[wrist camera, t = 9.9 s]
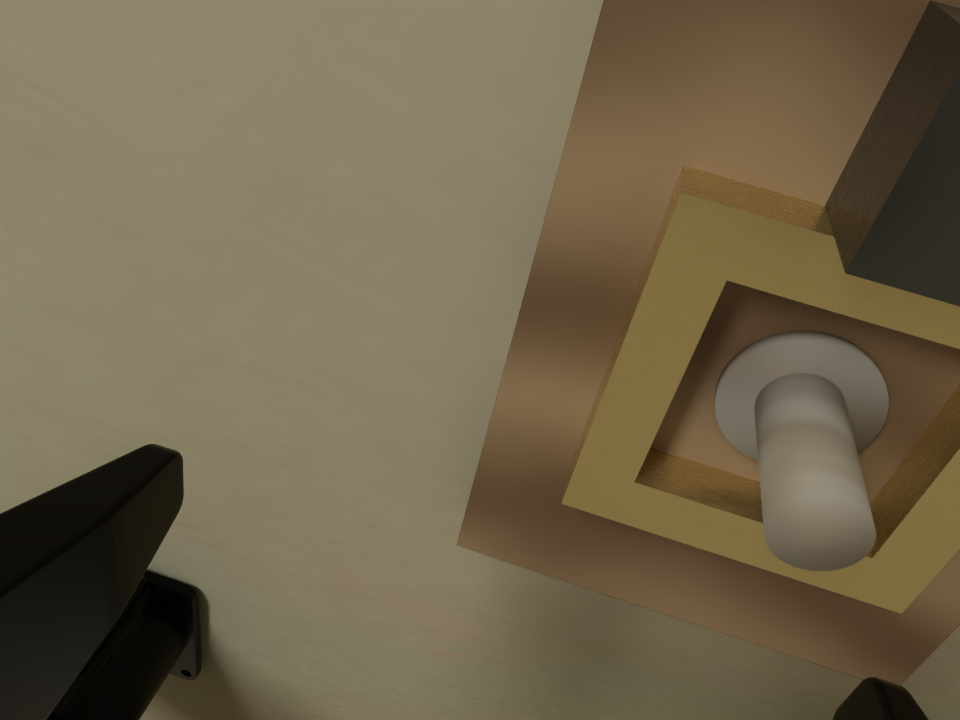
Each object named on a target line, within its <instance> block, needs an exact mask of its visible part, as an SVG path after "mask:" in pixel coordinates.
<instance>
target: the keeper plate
mask: <svg viewBox="0 0 960 720" xmlns="http://www.w3.org/2000/svg"><path fill="white" fill-rule="evenodd" d="M929 1H930V0H604V1H603V5H602V9H601V12H600V16H599V20H598V23H597V27H596V31H595V34H594V38H593V42H592V46H591V49H590V53H589V57H588V60H587V64H586V68H585V72H584V75H583V79H582V83H581V86H580V90H579V94H578V97H577V101H576V105H575V109H574V112H573V116H572V120H571V123H570V127H569V131H568V134H567V138H566V142H565V146H564V149H563V153H562V157H561V160H560V164H559V168H558V171H557V175H556V179H555V183H554V186H553V190H552V194H551V197H550V201H549V205H548V209H547V212H546V216H545V220H544V223H543V227H542V231H541V234H540V238H539V242H538V246H537V249H536V253H535V257H534V260H533V264H532V268H531V271H530V275H529V279H528V283H527V286H526V290H525V294H524V297H523V301H522V305H521V308H520V312H519V316H518V320H517V323H516V327H515V331H514V334H513V338H512V342H511V345H510V349H509V353H508V357H507V360H506V364H505V368H504V371H503V375H502V379H501V383H500V386H499V390H498V394H497V397H496V401H495V405H494V408H493V412H492V416H491V420H490V423H489V427H488V431H487V434H486V438H485V442H484V445H483V449H482V453H481V457H480V460H479V464H478V468H477V471H476V475H475V479H474V482H473V486H472V490H471V494H470V497H469V501H468V505H467V508H466V512H465V516H464V520H463V523H462V527H461V531H460V534H459V538H458V542H457V546H460V547H463V548H466V549H469V550H472V551H475V552H478V553H481V554H484V555H487V556H490V557H493V558H496V559H500V560H503V561H506V562H509V563H512V564H515V565H518V566H521V567H524V568H527V569H530V570H533V571H536V572H539V573H542V574H545V575H548V576H551V577H554V578H557V579H560V580H563V581H566V582H569V583H572V584H575V585H578V586H582V587H585V588H588V589H591V590H594V591H597V592H600V593H603V594H606V595H609V596H612V597H615V598H618V599H621V600H624V601H627V602H630V603H633V604H636V605H639V606H642V607H645V608H648V609H651V610H654V611H657V612H660V613H664V614H667V615H670V616H673V617H676V618H679V619H682V620H685V621H688V622H691V623H694V624H697V625H700V626H703V627H706V628H709V629H712V630H715V631H718V632H721V633H724V634H727V635H730V636H733V637H736V638H739V639H742V640H746V641H749V642H752V643H755V644H758V645H761V646H764V647H767V648H770V649H773V650H776V651H779V652H782V653H785V654H788V655H791V656H794V657H797V658H800V659H803V660H806V661H809V662H812V663H815V664H818V665H821V666H824V667H828V668H831V669H834V670H837V671H840V672H843V673H846V674H849V675H852V676H855V677H858V678H861V679H865V678H868V677H871V676H872V677H877V678H880V679H883V680H886V681H889V682H893V683H896V684H898V685H901V684H902V683H903V682H904V681H905V680H906V679H907V678H908V677H909V676H910V675H911V674H912V673H913V672H914V671H915V670H916V669H917V668H918V667H919V666H920V665H921V664H922V663H923V662H924V661H925V660H926V659H927V658H928V657H929V656H930V655H931V654H932V653H933V652H934V651H935V650H936V648H937V647H938V646H939V645H940V644H941V643H942V642H943V641H944V640H945V639H946V638H947V637H948V636H949V635H950V634H951V633H952V632H953V631H954V630H955V629H956V628H957V627H958V626H959V625H960V549H959V550H958V551H957V553H956V554H955V555H954V556H953V557H952V558H951V559H950V560H949V562H948V563H947V564H946V565H945V566H944V567H943V568H942V569H941V570H940V572H939V573H938V574H937V575H936V576H935V577H934V578H933V579H932V581H931V582H930V583H929V584H928V585H927V586H926V587H925V588H924V590H923V591H922V592H921V593H920V594H919V595H918V596H917V597H916V598H915V600H914V601H913V602H912V603H911V604H910V605H909V606H908V607H907V609H906V610H905V611H904V612H903V613H902V614H900V613H897V612H894V611H891V610H888V609H885V608H882V607H879V606H876V605H872V604H869V603H866V602H863V601H860V600H857V599H854V598H851V597H848V596H845V595H842V594H839V593H835V592H832V591H829V590H826V589H823V588H820V587H817V586H814V585H811V584H808V583H805V582H801V581H798V580H795V579H792V578H789V577H786V576H783V575H780V574H777V573H774V572H771V571H768V570H764V569H761V568H758V567H755V566H752V565H749V564H746V563H743V562H740V561H737V560H734V559H731V558H727V557H724V556H721V555H718V554H715V553H712V552H709V551H706V550H703V549H700V548H697V547H694V546H690V545H687V544H684V543H681V542H678V541H675V540H672V539H669V538H666V537H663V536H660V535H656V534H653V533H650V532H647V531H644V530H641V529H638V528H635V527H632V526H629V525H626V524H623V523H619V522H616V521H613V520H610V519H607V518H604V517H601V516H598V515H595V514H592V513H589V512H586V511H582V510H579V509H576V508H573V507H570V506H567V505H564V504H561V502H562V498H563V493H564V489H565V484H566V480H567V475H568V470H569V466H570V463H571V461H572V458H573V455H574V453H575V450H576V447H577V445H578V442H579V439H580V437H581V434H582V431H583V429H584V426H585V423H586V421H587V418H588V416H589V413H590V410H591V408H592V405H593V402H594V400H595V397H596V394H597V392H598V389H599V386H600V384H601V381H602V378H603V376H604V373H605V370H606V368H607V365H608V363H609V360H610V357H611V355H612V352H613V349H614V347H615V344H616V341H617V339H618V336H619V333H620V331H621V328H622V325H623V323H624V320H625V318H626V315H627V312H628V310H629V307H630V304H631V302H632V299H633V296H634V294H635V291H636V288H637V286H638V283H639V280H640V278H641V275H642V273H643V270H644V267H645V265H646V262H647V259H648V257H649V254H650V251H651V249H652V246H653V243H654V241H655V238H656V235H657V233H658V230H659V227H660V225H661V222H662V220H663V217H664V214H665V212H666V209H667V206H668V204H669V201H670V198H671V196H672V193H673V190H674V188H675V185H676V182H677V180H678V177H679V175H680V172H681V169H682V167H683V166H687V167H690V168H694V169H697V170H701V171H704V172H708V173H711V174H715V175H718V176H722V177H725V178H729V179H732V180H736V181H739V182H743V183H746V184H750V185H753V186H757V187H760V188H764V189H767V190H771V191H774V192H778V193H781V194H785V195H788V196H792V197H795V198H799V199H803V200H806V201H810V202H813V203H817V204H820V205H824V206H825V204H826V202H827V200H828V198H829V196H830V194H831V193H832V191H833V189H834V187H835V185H836V183H837V181H838V179H839V177H840V175H841V173H842V171H843V169H844V167H845V165H846V163H847V161H848V159H849V157H850V156H851V154H852V152H853V150H854V148H855V146H856V144H857V142H858V140H859V138H860V136H861V134H862V132H863V130H864V128H865V126H866V124H867V122H868V120H869V118H870V117H871V115H872V113H873V111H874V109H875V107H876V105H877V103H878V101H879V99H880V97H881V95H882V93H883V91H884V89H885V87H886V85H887V83H888V81H889V79H890V78H891V76H892V74H893V72H894V70H895V68H896V66H897V64H898V62H899V60H900V58H901V56H902V54H903V52H904V50H905V48H906V46H907V44H908V42H909V40H910V39H911V37H912V35H913V33H914V31H915V29H916V27H917V25H918V23H919V21H920V19H921V17H922V15H923V13H924V11H925V9H926V7H927V5H928V3H929ZM931 1H935V2H939V3H942V4H946V5H950V6H954V7H958V8H960V0H931ZM959 384H960V349H958V348H954V347H951V346H947V345H944V344H941V343H937V342H934V341H930V340H927V339H924V338H920V337H917V336H914V335H910V334H907V333H903V332H900V331H897V330H893V329H890V328H886V327H883V326H880V325H876V324H873V323H870V322H866V321H863V320H859V319H856V318H853V317H849V316H846V315H842V314H839V313H836V312H832V311H829V310H826V309H822V308H819V307H815V306H812V305H809V304H805V303H802V302H798V301H795V300H792V299H788V298H785V297H782V296H778V295H775V294H771V293H768V292H765V291H761V290H758V289H754V288H751V287H748V286H744V285H741V284H738V283H734V282H731V281H726V283H725V285H724V287H723V290H722V292H721V294H720V296H719V298H718V301H717V303H716V305H715V307H714V309H713V311H712V314H711V316H710V318H709V320H708V322H707V325H706V327H705V329H704V331H703V333H702V335H701V338H700V340H699V342H698V344H697V346H696V349H695V351H694V353H693V355H692V357H691V359H690V362H689V364H688V366H687V368H686V370H685V373H684V375H683V377H682V379H681V381H680V384H679V386H678V388H677V390H676V392H675V394H674V397H673V399H672V401H671V403H670V405H669V408H668V410H667V412H666V414H665V416H664V418H663V421H662V423H661V425H660V427H659V429H658V432H657V434H656V436H655V438H654V440H653V442H652V445H651V447H650V448H654V449H657V450H660V451H663V452H666V453H669V454H673V455H676V456H679V457H682V458H685V459H688V460H692V461H695V462H698V463H701V464H704V465H707V466H711V467H714V468H717V469H720V470H723V471H727V472H730V473H733V474H736V475H739V476H742V477H746V478H749V479H752V480H755V481H758V482H760V489H761V502H762V515H763V528H764V539H765V542H766V544H767V546H768V548H769V550H770V551H771V552H772V553H773V554H774V555H775V556H776V557H777V558H778V559H780V560H781V561H783V562H785V563H787V564H789V565H791V566H794V567H796V568H800V569H804V570H809V571H833V570H839V569H843V568H846V567H849V566H851V565H853V564H855V563H857V562H859V561H860V560H862V559H863V558H864V557H866V556H867V555H868V554H869V552H870V551H871V550H872V548H873V546H874V544H875V541H876V530H875V525H874V521H873V517H872V512H871V508H870V504H871V503H872V501H873V500H874V499H875V497H876V496H877V494H878V493H879V492H880V490H881V489H882V488H883V486H884V485H885V484H886V482H887V481H888V480H889V478H890V477H891V476H892V474H893V473H894V472H895V470H896V469H897V468H898V466H899V465H900V464H901V462H902V461H903V460H904V458H905V457H906V455H907V454H908V453H909V451H910V450H911V449H912V447H913V446H914V445H915V443H916V442H917V441H918V439H919V438H920V437H921V435H922V434H923V433H924V431H925V430H926V429H927V427H928V426H929V425H930V423H931V422H932V420H933V419H934V418H935V416H936V415H937V414H938V412H939V411H940V410H941V408H942V407H943V406H944V404H945V403H946V402H947V400H948V399H949V398H950V396H951V395H952V394H953V392H954V391H955V390H956V388H957V387H958V386H959Z"/></svg>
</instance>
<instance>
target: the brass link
mask: <svg viewBox="0 0 960 720" xmlns="http://www.w3.org/2000/svg"><path fill="white" fill-rule="evenodd" d="M726 281H731V282H734V283H738V284H741V285H744V286H748V287H751V288H754V289H758V290H761V291H765V292H768V293H771V294H775V295H778V296H782V297H785V298H788V299H792V300H795V301H798V302H802V303H805V304H809V305H812V306H815V307H819V308H822V309H826V310H829V311H832V312H836V313H839V314H842V315H846V316H849V317H853V318H856V319H859V320H863V321H866V322H870V323H873V324H876V325H880V326H883V327H886V328H890V329H893V330H897V331H900V332H903V333H907V334H910V335H914V336H917V337H920V338H924V339H927V340H930V341H934V342H937V343H941V344H944V345H947V346H951V347H954V348H958V349H960V8H958V7H954V6H950V5H946V4H942V3H939V2H935V1H931V0H930V1H929V3H928V5H927V7H926V9H925V11H924V13H923V15H922V17H921V19H920V21H919V23H918V25H917V27H916V29H915V31H914V33H913V35H912V37H911V39H910V40H909V42H908V44H907V46H906V48H905V50H904V52H903V54H902V56H901V58H900V60H899V62H898V64H897V66H896V68H895V70H894V72H893V74H892V76H891V78H890V79H889V81H888V83H887V85H886V87H885V89H884V91H883V93H882V95H881V97H880V99H879V101H878V103H877V105H876V107H875V109H874V111H873V113H872V115H871V117H870V118H869V120H868V122H867V124H866V126H865V128H864V130H863V132H862V134H861V136H860V138H859V140H858V142H857V144H856V146H855V148H854V150H853V152H852V154H851V156H850V157H849V159H848V161H847V163H846V165H845V167H844V169H843V171H842V173H841V175H840V177H839V179H838V181H837V183H836V185H835V187H834V189H833V191H832V193H831V194H830V196H829V198H828V200H827V202H826V204H825V206H824V205H820V204H817V203H813V202H810V201H806V200H803V199H799V198H795V197H792V196H788V195H785V194H781V193H778V192H774V191H771V190H767V189H764V188H760V187H757V186H753V185H750V184H746V183H743V182H739V181H736V180H732V179H729V178H725V177H722V176H718V175H715V174H711V173H708V172H704V171H701V170H697V169H694V168H690V167H687V166H683V167H682V169H681V172H680V175H679V177H678V180H677V182H676V185H675V188H674V190H673V193H672V196H671V198H670V201H669V204H668V206H667V209H666V212H665V214H664V217H663V220H662V222H661V225H660V227H659V230H658V233H657V235H656V238H655V241H654V243H653V246H652V249H651V251H650V254H649V257H648V259H647V262H646V265H645V267H644V270H643V273H642V275H641V278H640V280H639V283H638V286H637V288H636V291H635V294H634V296H633V299H632V302H631V304H630V307H629V310H628V312H627V315H626V318H625V320H624V323H623V325H622V328H621V331H620V333H619V336H618V339H617V341H616V344H615V347H614V349H613V352H612V355H611V357H610V360H609V363H608V365H607V368H606V370H605V373H604V376H603V378H602V381H601V384H600V386H599V389H598V392H597V394H596V397H595V400H594V402H593V405H592V408H591V410H590V413H589V416H588V418H587V421H586V423H585V426H584V429H583V431H582V434H581V437H580V439H579V442H578V445H577V447H576V450H575V453H574V455H573V458H572V461H571V463H570V466H569V470H568V475H567V480H566V484H565V489H564V493H563V498H562V502H561V504H564V505H567V506H570V507H573V508H576V509H579V510H582V511H586V512H589V513H592V514H595V515H598V516H601V517H604V518H607V519H610V520H613V521H616V522H619V523H623V524H626V525H629V526H632V527H635V528H638V529H641V530H644V531H647V532H650V533H653V534H656V535H660V536H663V537H666V538H669V539H672V540H675V541H678V542H681V543H684V544H687V545H690V546H694V547H697V548H700V549H703V550H706V551H709V552H712V553H715V554H718V555H721V556H724V557H727V558H731V559H734V560H737V561H740V562H743V563H746V564H749V565H752V566H755V567H758V568H761V569H764V570H768V571H771V572H774V573H777V574H780V575H783V576H786V577H789V578H792V579H795V580H798V581H801V582H805V583H808V584H811V585H814V586H817V587H820V588H823V589H826V590H829V591H832V592H835V593H839V594H842V595H845V596H848V597H851V598H854V599H857V600H860V601H863V602H866V603H869V604H872V605H876V606H879V607H882V608H885V609H888V610H891V611H894V612H897V613H900V614H902V613H903V612H904V611H905V610H906V609H907V607H908V606H909V605H910V604H911V603H912V602H913V601H914V600H915V598H916V597H917V596H918V595H919V594H920V593H921V592H922V591H923V590H924V588H925V587H926V586H927V585H928V584H929V583H930V582H931V581H932V579H933V578H934V577H935V576H936V575H937V574H938V573H939V572H940V570H941V569H942V568H943V567H944V566H945V565H946V564H947V563H948V562H949V560H950V559H951V558H952V557H953V556H954V555H955V554H956V553H957V551H958V550H959V549H960V384H959V386H958V387H957V388H956V390H955V391H954V392H953V394H952V395H951V396H950V398H949V399H948V400H947V402H946V403H945V404H944V406H943V407H942V408H941V410H940V411H939V412H938V414H937V415H936V416H935V418H934V419H933V420H932V422H931V423H930V425H929V426H928V427H927V429H926V430H925V431H924V433H923V434H922V435H921V437H920V438H919V439H918V441H917V442H916V443H915V445H914V446H913V447H912V449H911V450H910V451H909V453H908V454H907V455H906V457H905V458H904V460H903V461H902V462H901V464H900V465H899V466H898V468H897V469H896V470H895V472H894V473H893V474H892V476H891V477H890V478H889V480H888V481H887V482H886V484H885V485H884V486H883V488H882V489H881V490H880V492H879V493H878V494H877V496H876V497H875V499H874V500H873V501H872V503H871V504H870V508H871V512H872V517H873V521H874V525H875V530H876V541H875V544H874V546H873V548H872V550H871V551H870V552H869V554H868V555H867V556H866V557H864V558H863V559H862V560H860V561H859V562H857V563H855V564H853V565H851V566H849V567H846V568H843V569H839V570H833V571H809V570H804V569H800V568H796V567H794V566H791V565H789V564H787V563H785V562H783V561H781V560H780V559H778V558H777V557H776V556H775V555H774V554H773V553H772V552H771V551H770V550H769V548H768V546H767V544H766V542H765V539H764V528H763V515H762V502H761V489H760V482H758V481H755V480H752V479H749V478H746V477H742V476H739V475H736V474H733V473H730V472H727V471H723V470H720V469H717V468H714V467H711V466H707V465H704V464H701V463H698V462H695V461H692V460H688V459H685V458H682V457H679V456H676V455H673V454H669V453H666V452H663V451H660V450H657V449H654V448H650V447H651V445H652V442H653V440H654V438H655V436H656V434H657V432H658V429H659V427H660V425H661V423H662V421H663V418H664V416H665V414H666V412H667V410H668V408H669V405H670V403H671V401H672V399H673V397H674V394H675V392H676V390H677V388H678V386H679V384H680V381H681V379H682V377H683V375H684V373H685V370H686V368H687V366H688V364H689V362H690V359H691V357H692V355H693V353H694V351H695V349H696V346H697V344H698V342H699V340H700V338H701V335H702V333H703V331H704V329H705V327H706V325H707V322H708V320H709V318H710V316H711V314H712V311H713V309H714V307H715V305H716V303H717V301H718V298H719V296H720V294H721V292H722V290H723V287H724V285H725V283H726Z"/></svg>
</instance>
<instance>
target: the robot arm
mask: <svg viewBox="0 0 960 720" xmlns="http://www.w3.org/2000/svg"><path fill="white" fill-rule="evenodd" d="M183 496H184V487H183V459H182V456H181V454H180V453H179V452H178V451H175V450H172V449H169V448H166V447H163V446H160V445H157V444H149V445H145V446H143V447H140V448H138V449H136V450H134V451H132V452H130V453H128V454H126V455H123V456H121V457H119V458H117V459H115V460H113V461H111V462H109V463H107V464H104V465H102V466H100V467H98V468H96V469H94V470H92V471H90V472H87V473H85V474H83V475H81V476H79V477H77V478H75V479H73V480H71V481H68V482H66V483H64V484H62V485H60V486H58V487H56V488H54V489H52V490H49V491H47V492H45V493H43V494H41V495H39V496H37V497H35V498H32V499H30V500H28V501H26V502H24V503H22V504H20V505H18V506H16V507H13V508H11V509H9V510H7V511H5V512H3V513H1V514H0V720H139V719H140V718H141V716H142V714H143V713H144V711H145V710H146V708H147V707H148V705H149V704H150V702H151V700H152V699H153V697H154V696H155V694H156V693H157V691H158V689H159V688H160V686H161V685H162V683H163V682H164V680H165V678H166V677H167V675H168V674H169V673H170V674H173V675H176V676H179V677H182V678H184V679H188V680H195V679H196V678H197V676H198V675H199V673H200V671H201V654H200V633H199V612H198V596H197V593H196V592H195V591H194V590H193V589H192V588H191V587H189V586H187V585H184V584H181V583H178V582H175V581H172V580H169V579H166V578H164V577H161V576H158V575H155V574H152V573H149V572H146V570H147V568H148V566H149V564H150V562H151V561H152V559H153V557H154V555H155V554H156V552H157V550H158V548H159V546H160V545H161V543H162V541H163V539H164V538H165V536H166V534H167V532H168V530H169V529H170V527H171V525H172V523H173V522H174V520H175V518H176V516H177V514H178V512H179V510H180V508H181V505H182V502H183ZM833 720H928V718H927V717H926V715H925V714H924V712H923V711H922V710H921V708H920V707H919V705H918V704H917V703H916V701H915V700H914V698H913V697H912V696H911V694H910V693H909V692H908V691H907V690H906V689H905V688H904V687H902V686H901V685H898V684H896V683H893V682H889V681H886V680H883V679H880V678H877V677H872V676H871V677H868V678H865V679H864V680H863V681H862V682H861V683H860V684H859V685H858V686H857V687H856V689H855V690H854V691H853V692H852V693H851V694H850V695H849V696H848V698H847V699H846V700H845V701H844V702H843V703H842V704H841V705H840V706H839V708H838V709H837V711H836V713H835V715H834V718H833Z"/></svg>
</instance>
